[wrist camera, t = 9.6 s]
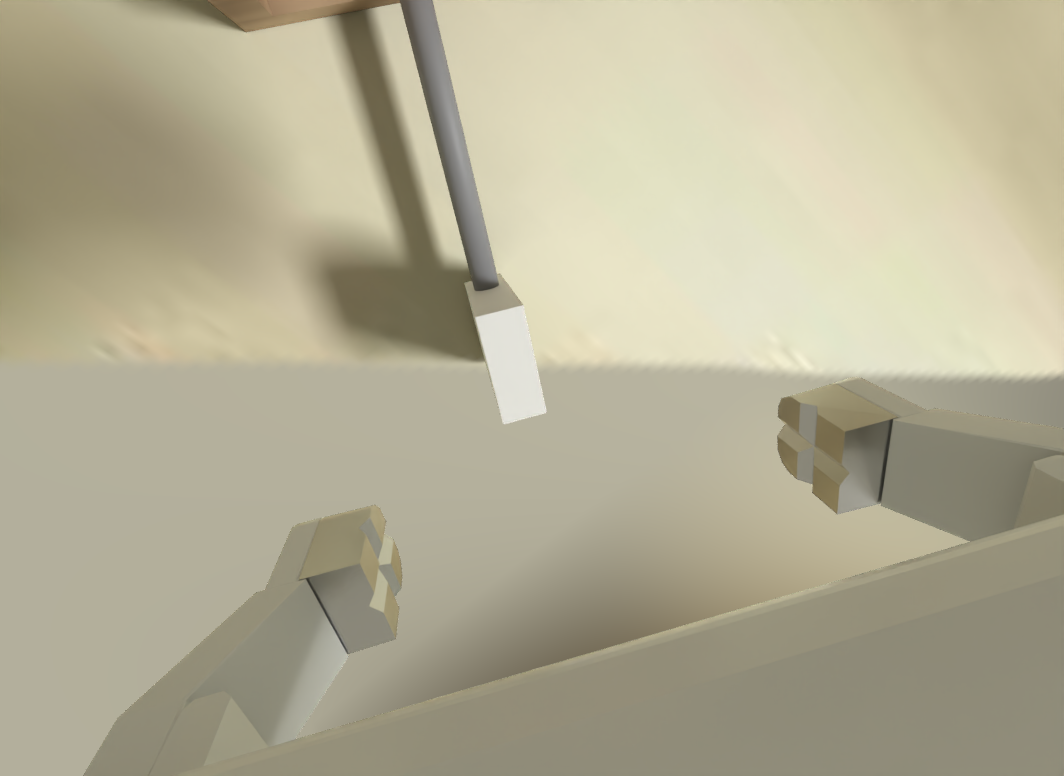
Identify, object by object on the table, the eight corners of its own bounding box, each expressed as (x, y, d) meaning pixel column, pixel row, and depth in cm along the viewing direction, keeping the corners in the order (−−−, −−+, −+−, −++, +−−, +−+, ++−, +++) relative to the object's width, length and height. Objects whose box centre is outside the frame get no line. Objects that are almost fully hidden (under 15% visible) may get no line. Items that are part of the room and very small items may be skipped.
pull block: (450, -456, 13) (463, -963, 7) (584, 340, 23) (636, 394, 17) (148, -423, 13) (-100, -953, 7) (418, 384, 22) (414, 456, 16)
